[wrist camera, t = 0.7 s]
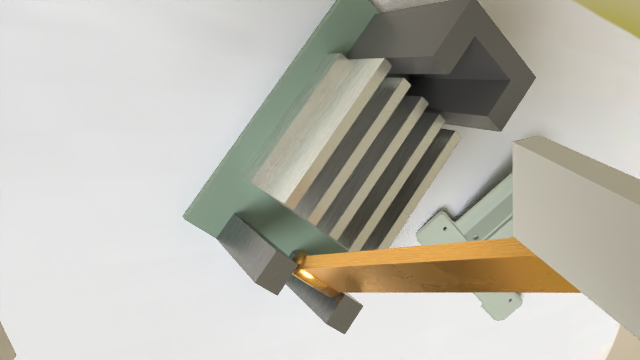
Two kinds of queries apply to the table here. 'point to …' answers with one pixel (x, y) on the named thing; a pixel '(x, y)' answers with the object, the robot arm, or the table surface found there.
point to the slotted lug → (450, 61)
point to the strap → (433, 269)
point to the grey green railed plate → (226, 182)
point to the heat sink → (342, 172)
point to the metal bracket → (480, 237)
